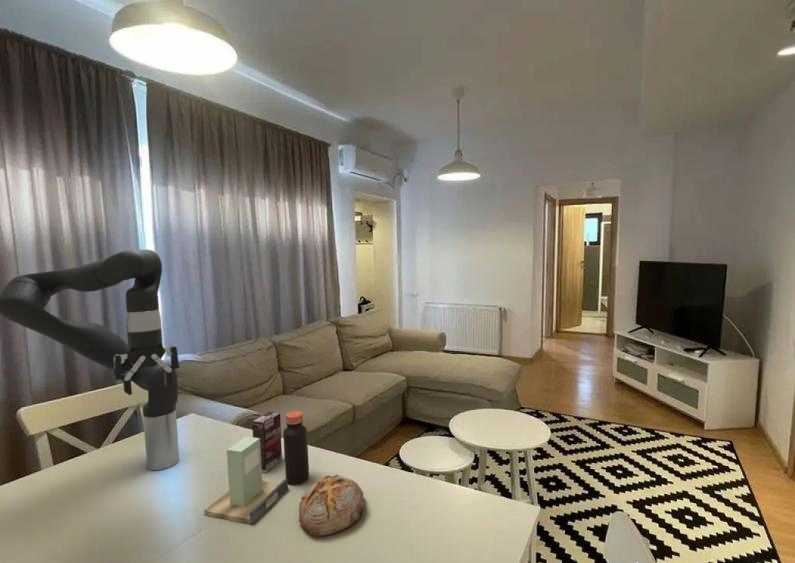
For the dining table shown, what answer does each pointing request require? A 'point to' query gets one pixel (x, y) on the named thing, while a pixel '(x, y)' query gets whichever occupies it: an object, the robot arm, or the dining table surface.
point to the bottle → (296, 449)
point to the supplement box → (268, 439)
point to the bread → (331, 505)
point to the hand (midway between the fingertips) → (148, 390)
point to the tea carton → (244, 471)
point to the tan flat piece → (253, 508)
